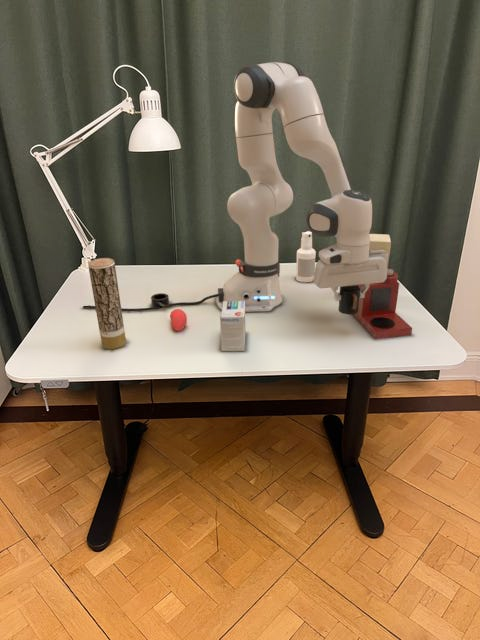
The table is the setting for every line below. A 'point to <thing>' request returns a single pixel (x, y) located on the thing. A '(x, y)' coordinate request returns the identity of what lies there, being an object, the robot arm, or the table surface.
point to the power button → (389, 272)
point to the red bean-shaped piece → (178, 319)
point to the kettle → (349, 299)
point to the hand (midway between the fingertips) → (349, 298)
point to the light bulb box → (232, 326)
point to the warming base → (384, 318)
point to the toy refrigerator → (380, 243)
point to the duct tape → (160, 300)
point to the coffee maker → (366, 301)
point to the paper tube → (107, 302)
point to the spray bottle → (305, 259)
